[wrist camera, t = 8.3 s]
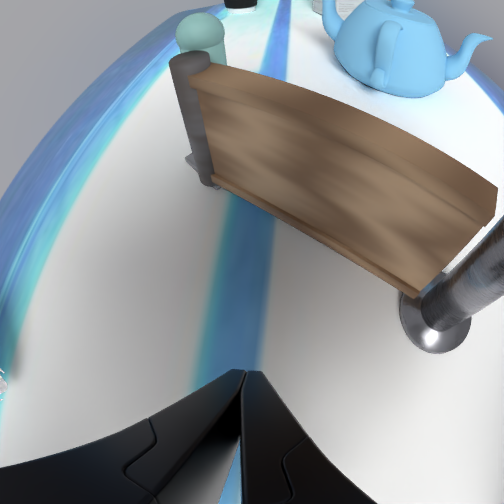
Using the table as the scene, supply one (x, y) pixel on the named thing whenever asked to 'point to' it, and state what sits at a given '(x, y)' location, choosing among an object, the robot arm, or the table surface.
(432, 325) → the hinge post
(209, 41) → the post
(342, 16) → the supplement box
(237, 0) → the dixie cup
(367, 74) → the teapot
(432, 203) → the gate
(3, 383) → the elephant figurine
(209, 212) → the table surface
